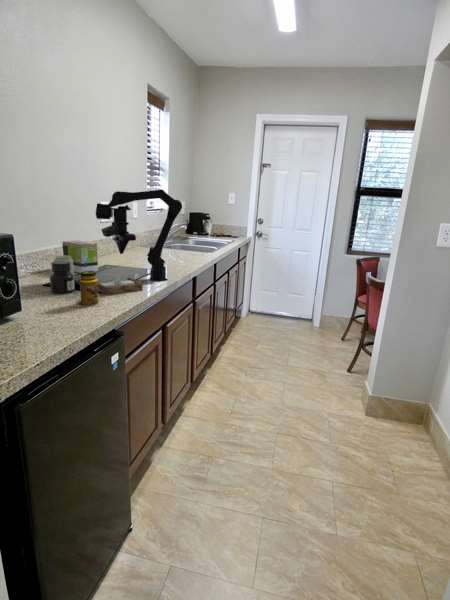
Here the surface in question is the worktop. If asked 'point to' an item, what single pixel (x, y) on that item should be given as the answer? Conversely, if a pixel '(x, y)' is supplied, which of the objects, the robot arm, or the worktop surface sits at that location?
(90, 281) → the condiment
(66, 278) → the ink bottle
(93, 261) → the tea box
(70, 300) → the worktop surface
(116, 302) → the worktop surface
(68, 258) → the can
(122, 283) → the tile
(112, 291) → the corral
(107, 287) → the tile
